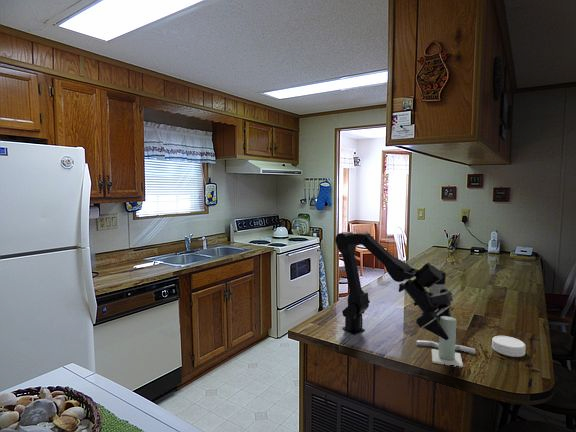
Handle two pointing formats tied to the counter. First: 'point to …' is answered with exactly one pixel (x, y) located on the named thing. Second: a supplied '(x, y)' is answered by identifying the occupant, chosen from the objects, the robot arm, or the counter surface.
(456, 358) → the tile
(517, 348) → the white thick disc
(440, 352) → the sage peg
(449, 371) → the counter surface
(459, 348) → the bent wire
